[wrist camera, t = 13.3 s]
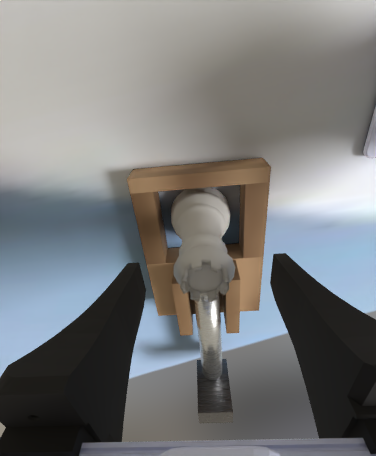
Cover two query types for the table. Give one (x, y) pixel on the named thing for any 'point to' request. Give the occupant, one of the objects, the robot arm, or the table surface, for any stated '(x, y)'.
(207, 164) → the wooden frame
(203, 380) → the grey metal hammer
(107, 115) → the table surface
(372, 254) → the table surface
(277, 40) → the table surface
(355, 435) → the robot arm
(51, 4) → the table surface
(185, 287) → the rook chess piece
